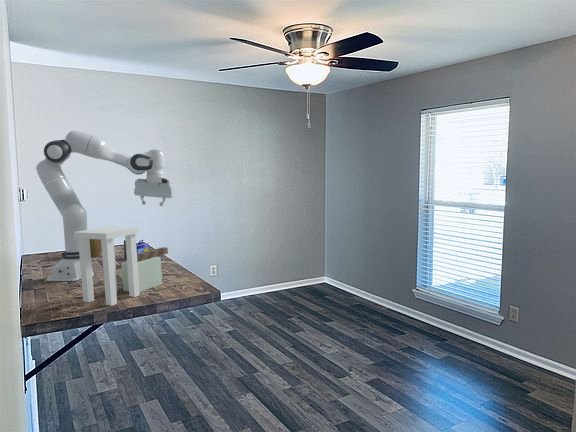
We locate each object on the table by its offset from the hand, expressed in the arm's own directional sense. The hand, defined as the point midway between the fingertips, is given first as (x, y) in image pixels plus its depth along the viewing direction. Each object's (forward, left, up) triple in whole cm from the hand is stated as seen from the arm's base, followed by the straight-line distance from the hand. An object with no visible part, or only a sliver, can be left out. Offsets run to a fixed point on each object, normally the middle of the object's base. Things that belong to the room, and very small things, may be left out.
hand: (152, 205), depth 238 cm
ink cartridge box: (-13, +19, -36) cm, 43 cm away
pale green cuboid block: (+1, -36, -36) cm, 51 cm away
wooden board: (+3, -31, -23) cm, 39 cm away
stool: (-9, -52, -36) cm, 64 cm away
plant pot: (-51, +54, -36) cm, 82 cm away
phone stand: (-24, +39, -36) cm, 58 cm away
